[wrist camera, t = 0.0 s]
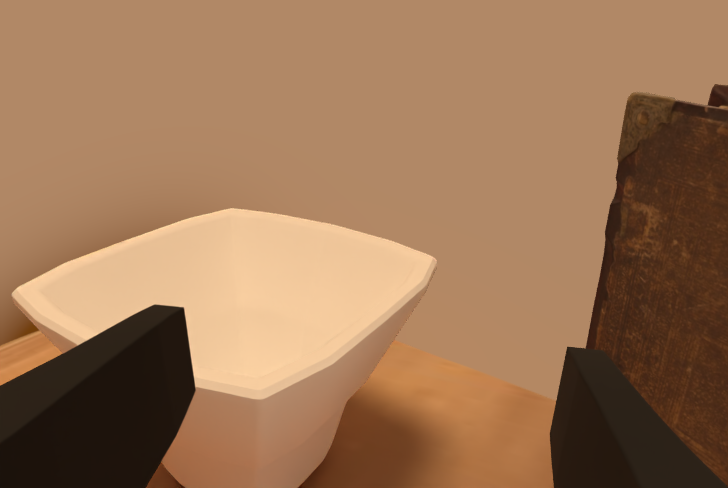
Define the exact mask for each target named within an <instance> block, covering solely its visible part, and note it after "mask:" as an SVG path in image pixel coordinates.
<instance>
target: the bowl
mask: <svg viewBox="0 0 728 488" xmlns="http://www.w3.org/2000/svg"><path fill="white" fill-rule="evenodd" d="M436 268H437V260H436V259H435V258H434V257H432V256H430V255H428V254H425V253H422V252H420V251H417V250H415V249H412V248H409V247H407V246H404V245H401V244H398V243H396V242H393V241H390V240H387V239H383V238H379V237H376V236H373V235H369V234H365V233H362V232H358V231H355V230H351V229H348V228H344V227H341V226H337V225H333V224H328V223H323V222H317V221H312V220H307V219H302V218H297V217H291V216H286V215H281V214H275V213H267V212H259V211H251V210H243V209H235V208H230V209H226V210H221V211H217V212H213V213H209V214H205V215H200V216H196V217H192V218H188V219H185V220H182V221H179V222H176V223H173V224H171V225H168V226H165V227H162V228H159V229H157V230H154V231H151V232H148V233H145V234H142V235H140V236H137V237H134V238H131V239H128V240H125V241H123V242H120V243H118V244H115V245H112V246H110V247H107V248H104V249H101V250H98V251H96V252H93V253H90V254H88V255H85V256H82V257H80V258H77V259H74V260H72V261H69V262H66V263H64V264H62V265H60V266H58V267H56V268H54V269H52V270H51V271H48V272H47V273H45V274H43V275H41V276H39V277H37V278H35V279H33V280H31V281H29V282H27V283H25V284H23V285H22V286H20V287H18V288H17V289H16V290H15V291H14V292H13V293H12V298H13V302H14V304H15V305H16V306H17V307H18V308H19V309H20V310H21V311H22V312H23V313H24V314H25V315H26V316H27V317H28V319H30V321H32V323H33V324H35V326H36V327H37V328H38V329H39V330H40V331H41V332H42V333H43V334H44V335H45V336H46V337H47V338H48V339H49V340H50V341H51V342H52V343H53V344H54V345H55V346H56V347H57V348H58V349H59V350H60V351H61V352H62V353H65V352H67V351H69V350H70V349H72V348H74V347H76V346H78V345H79V344H81V343H83V342H85V341H87V340H89V339H90V338H92V337H94V336H96V335H98V334H99V333H101V332H103V331H105V330H106V329H108V328H110V327H112V326H114V325H115V324H117V323H119V322H121V321H123V320H124V319H126V318H128V317H130V316H132V315H134V314H136V313H138V312H140V311H141V310H144V309H146V308H148V307H150V306H152V305H154V304H157V305H166V306H176V307H184V311H185V318H186V325H187V332H188V339H189V346H190V353H191V360H192V367H193V374H194V381H195V388H196V391H195V394H194V396H193V399H192V401H191V403H190V406H189V408H188V411H187V413H186V416H185V418H184V420H183V422H182V424H181V427H180V429H179V431H178V433H177V435H176V437H175V439H174V441H173V442H172V444H171V446H170V448H169V449H168V451H167V453H166V454H165V456H164V458H163V459H162V463H163V465H164V467H165V468H166V470H167V471H168V472H169V473H170V474H171V475H172V476H173V477H174V478H175V479H176V480H177V481H178V482H179V483H180V484H181V485H182V486H184V487H185V488H298V487H299V486H300V485H301V484H302V483H303V482H304V481H305V480H306V479H307V478H308V477H309V476H310V474H311V473H312V472H313V471H314V470H315V469H316V468H317V467H318V466H319V465H320V464H321V463H322V461H323V460H324V458H325V456H326V454H327V452H328V450H329V448H330V447H331V445H332V442H333V439H334V436H335V434H336V431H337V428H338V425H339V422H340V419H341V417H342V414H343V411H344V408H345V405H346V403H347V400H349V399H350V398H351V397H352V396H353V395H354V394H355V393H356V392H357V391H358V390H359V389H360V388H361V387H362V386H363V385H364V384H365V382H366V381H367V379H368V378H369V376H370V375H371V373H372V372H373V370H374V369H375V367H376V366H377V364H378V363H379V361H380V360H381V358H382V357H383V355H384V354H385V352H386V351H387V349H388V348H389V346H390V345H391V343H392V342H393V340H394V339H395V337H396V336H397V334H398V333H399V331H400V330H401V328H402V327H403V325H404V324H405V322H406V321H407V319H408V318H409V316H410V315H411V313H412V312H413V310H414V309H415V307H416V306H417V304H418V303H419V301H420V300H421V298H422V297H423V295H424V294H425V292H426V290H427V288H428V286H429V283H430V281H431V279H432V277H433V275H434V273H435V271H436Z"/></svg>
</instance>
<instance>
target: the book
mask: <svg viewBox="0 0 728 488" xmlns="http://www.w3.org/2000/svg"><path fill="white" fill-rule="evenodd" d="M617 159H618V169H617V174H616V181H617V189H616V193H615V197H614V199H613V201H612V203H611V205H610V209H609V215H608V220H607V225H606V230H605V238H606V241H605V249H604V257H603V262H602V267H601V273H600V278H599V283H598V288H597V292H596V297H595V302H594V307H593V312H592V318H591V323H590V329H589V334H588V340H587V345H586V349H595V350H603V351H604V352H605V353H606V354H607V355H608V357H609V358H610V359H611V360H612V361H613V363H614V364H615V365H616V366H617V367H618V369H619V370H620V371H621V372H622V373H623V374H624V376H625V377H626V378H627V379H628V380H629V382H630V383H631V384H632V385H633V386H634V388H635V389H636V390H637V391H638V392H639V393H640V395H641V396H642V397H643V398H644V399H645V400H646V402H647V403H648V404H649V405H650V406H651V407H652V409H653V410H654V411H655V412H656V413H657V414H658V415H659V416H660V418H661V419H662V420H663V421H664V422H665V423H666V424H667V425H668V426H669V427H670V429H671V430H672V431H673V432H674V433H675V434H676V435H677V436H678V437H679V438H680V439H681V440H682V441H683V442H684V443H685V444H686V446H687V447H688V448H689V449H690V450H691V451H692V452H693V453H694V454H695V455H696V456H697V457H698V458H699V459H700V460H701V461H702V462H703V463H704V464H705V465H706V466H707V467H708V468H709V469H710V470H711V471H712V472H713V473H714V474H715V475H716V476H718V477H719V478H720V479H721V480H722V481H723V482H724V483H725V484H726V485H727V486H728V85H718V84H715V85H714V87H713V88H712V91H711V94H710V98H709V102H708V105H702V104H697V103H691V102H685V101H680V100H676V99H675V98H672V97H666V96H660V95H655V94H650V93H639V92H634V93H632V94H631V95H630V96H629V98H628V100H627V105H626V110H625V115H624V121H623V127H622V133H621V139H620V145H619V151H618V157H617Z"/></svg>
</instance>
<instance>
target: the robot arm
mask: <svg viewBox="0 0 728 488" xmlns="http://www.w3.org/2000/svg"><path fill="white" fill-rule="evenodd" d="M195 391H196V388H195V381H194V374H193V367H192V360H191V353H190V346H189V339H188V332H187V325H186V318H185V311H184V307H176V306H166V305H157V304H154V305H152V306H150V307H148V308H146V309H144V310H141V311H140V312H138V313H136V314H134V315H132V316H130V317H128V318H126V319H124V320H123V321H121V322H119V323H117V324H115V325H114V326H112V327H110V328H108V329H106V330H105V331H103V332H101V333H99V334H98V335H96V336H94V337H92V338H90V339H89V340H87V341H85V342H83V343H81V344H79V345H78V346H76V347H74V348H72V349H70V350H69V351H67V352H65V353H63V354H61V355H60V356H58V357H56V358H54V359H52V360H50V361H48V362H46V363H44V364H42V365H40V366H38V367H36V368H34V369H32V370H30V371H28V372H26V373H24V374H22V375H20V376H19V377H17V378H15V379H13V380H11V381H9V382H7V383H5V384H3V385H1V386H0V488H145V487H146V486H147V484H148V482H149V481H150V479H151V478H152V476H153V474H154V473H155V471H156V469H157V468H158V466H159V464H160V463H161V461H162V459H163V458H164V456H165V454H166V453H167V451H168V449H169V448H170V446H171V444H172V442H173V441H174V439H175V437H176V435H177V433H178V431H179V429H180V427H181V424H182V422H183V420H184V418H185V416H186V413H187V411H188V408H189V406H190V403H191V401H192V399H193V396H194V394H195ZM550 444H551V458H552V470H553V481H554V488H728V486H727V485H726V484H725V483H724V482H723V481H722V480H721V479H720V478H719V477H718V476H716V475H715V474H714V473H713V472H712V471H711V470H710V469H709V468H708V467H707V466H706V465H705V464H704V463H703V462H702V461H701V460H700V459H699V458H698V457H697V456H696V455H695V454H694V453H693V452H692V451H691V450H690V449H689V448H688V447H687V446H686V444H685V443H684V442H683V441H682V440H681V439H680V438H679V437H678V436H677V435H676V434H675V433H674V432H673V431H672V430H671V429H670V427H669V426H668V425H667V424H666V423H665V422H664V421H663V420H662V419H661V418H660V416H659V415H658V414H657V413H656V412H655V411H654V410H653V409H652V407H651V406H650V405H649V404H648V403H647V402H646V400H645V399H644V398H643V397H642V396H641V395H640V393H639V392H638V391H637V390H636V389H635V388H634V386H633V385H632V384H631V383H630V382H629V380H628V379H627V378H626V377H625V376H624V374H623V373H622V372H621V371H620V370H619V369H618V367H617V366H616V365H615V364H614V363H613V361H612V360H611V359H610V358H609V357H608V355H607V354H606V353H605V352H604V351H603V350H595V349H584V348H575V347H567V351H566V356H565V361H564V366H563V371H562V376H561V381H560V386H559V391H558V396H557V401H556V406H555V411H554V416H553V420H552V425H551V430H550Z"/></svg>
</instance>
